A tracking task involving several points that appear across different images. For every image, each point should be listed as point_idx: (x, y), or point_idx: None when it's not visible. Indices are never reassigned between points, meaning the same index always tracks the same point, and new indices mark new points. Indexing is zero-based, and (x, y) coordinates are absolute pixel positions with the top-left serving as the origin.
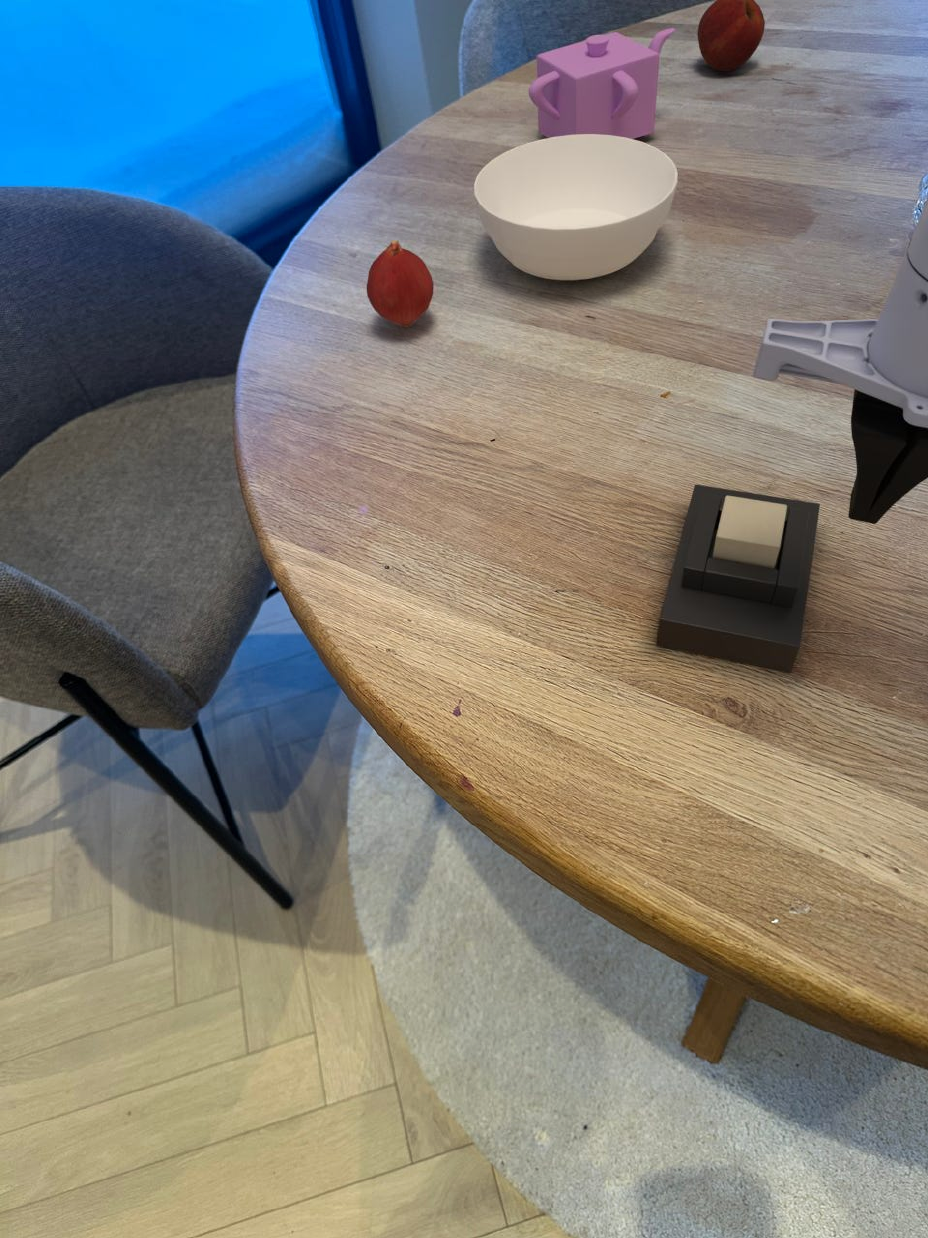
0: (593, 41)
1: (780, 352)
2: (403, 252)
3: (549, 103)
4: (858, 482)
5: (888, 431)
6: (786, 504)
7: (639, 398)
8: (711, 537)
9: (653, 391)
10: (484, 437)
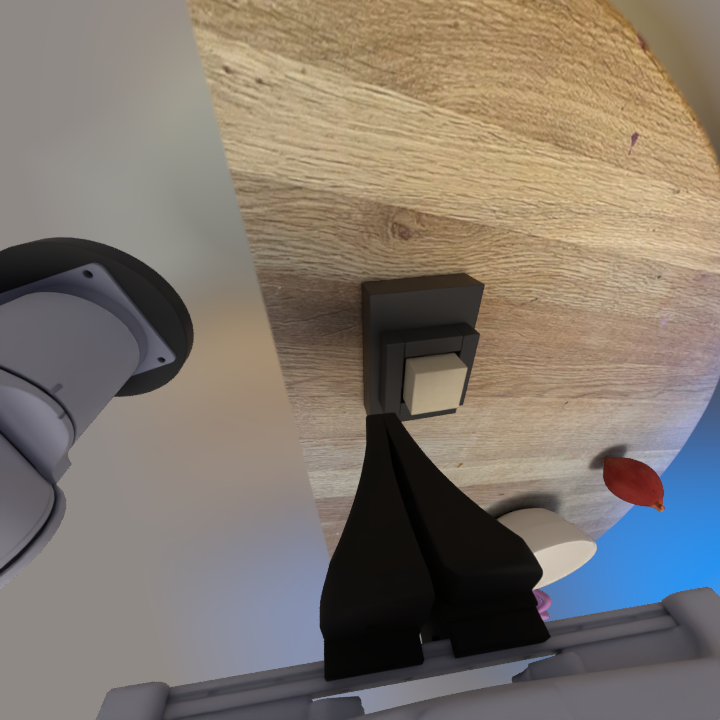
0: None
1: None
2: (650, 504)
3: (534, 593)
4: (426, 457)
5: (485, 579)
6: None
7: (475, 458)
8: None
9: (466, 465)
10: (571, 403)
